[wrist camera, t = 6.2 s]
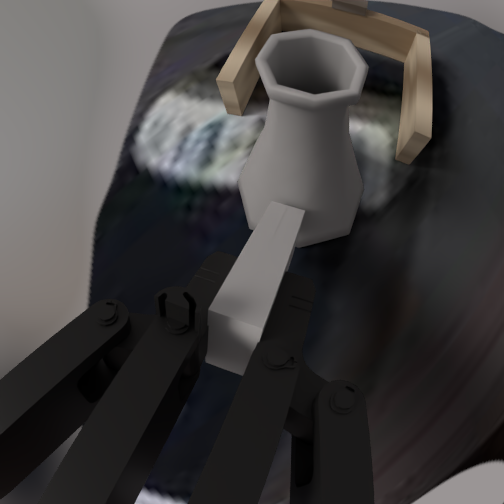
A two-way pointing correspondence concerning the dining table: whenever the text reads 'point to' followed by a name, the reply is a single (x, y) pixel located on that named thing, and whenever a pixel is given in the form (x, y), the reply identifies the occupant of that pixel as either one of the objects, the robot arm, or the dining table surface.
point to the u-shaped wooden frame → (363, 36)
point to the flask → (307, 134)
